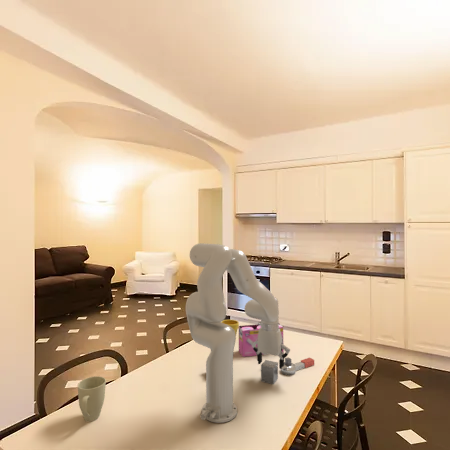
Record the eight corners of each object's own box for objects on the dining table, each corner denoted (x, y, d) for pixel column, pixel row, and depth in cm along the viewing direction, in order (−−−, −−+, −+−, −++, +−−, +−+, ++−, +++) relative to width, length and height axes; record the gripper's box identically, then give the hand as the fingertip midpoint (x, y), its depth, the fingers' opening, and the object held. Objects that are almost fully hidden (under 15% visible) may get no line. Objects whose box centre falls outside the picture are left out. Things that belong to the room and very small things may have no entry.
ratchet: (287, 376, 135) (287, 363, 135) (278, 370, 141) (278, 357, 141) (317, 366, 145) (317, 353, 145) (306, 361, 151) (306, 348, 151)
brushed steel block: (273, 384, 129) (273, 367, 129) (260, 381, 131) (261, 365, 131) (277, 378, 134) (277, 362, 134) (265, 375, 136) (265, 359, 136)
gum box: (279, 346, 169) (280, 322, 169) (286, 352, 161) (286, 326, 161) (238, 351, 163) (238, 325, 163) (242, 357, 155) (242, 330, 155)
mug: (70, 418, 106) (70, 383, 106) (99, 406, 113) (99, 373, 113) (82, 433, 98) (82, 396, 98) (112, 419, 105) (112, 384, 105)
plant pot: (230, 334, 188) (230, 318, 188) (242, 339, 180) (242, 322, 180) (217, 338, 181) (217, 321, 181) (228, 343, 173) (228, 326, 173)
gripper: (247, 325, 133) (248, 364, 134) (286, 332, 125) (287, 373, 126) (254, 320, 140) (255, 357, 140) (292, 326, 132) (292, 365, 132)
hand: (270, 365), depth 133 cm, fingers open, 9 cm apart
